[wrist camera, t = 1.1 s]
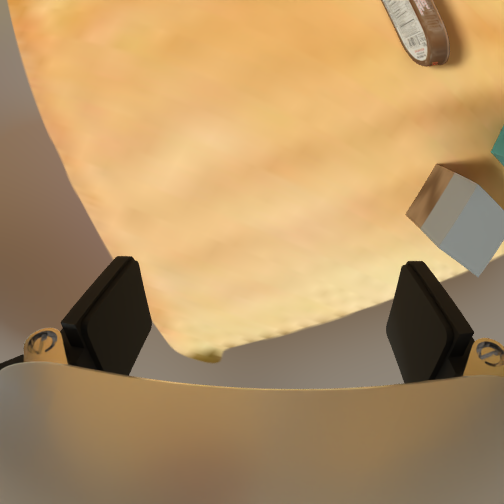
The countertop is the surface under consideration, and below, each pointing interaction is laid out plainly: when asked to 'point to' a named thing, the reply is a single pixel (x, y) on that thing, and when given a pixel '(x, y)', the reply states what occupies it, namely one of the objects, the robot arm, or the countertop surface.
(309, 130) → the countertop surface
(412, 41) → the tin
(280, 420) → the robot arm
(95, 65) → the countertop surface
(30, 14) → the countertop surface
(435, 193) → the tower base
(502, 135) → the teal cube
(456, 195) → the block
